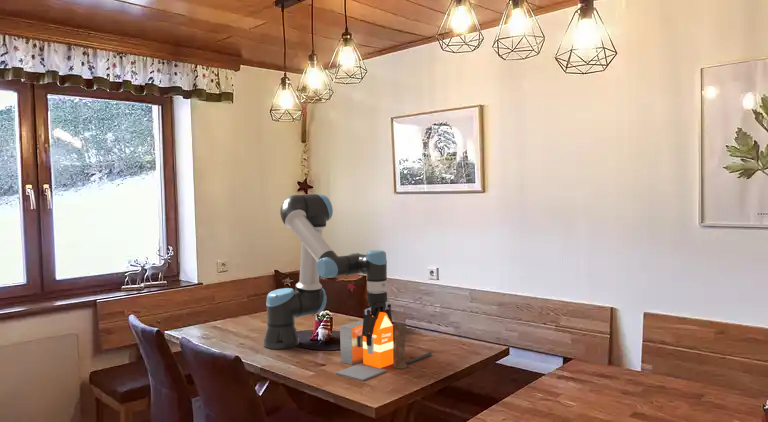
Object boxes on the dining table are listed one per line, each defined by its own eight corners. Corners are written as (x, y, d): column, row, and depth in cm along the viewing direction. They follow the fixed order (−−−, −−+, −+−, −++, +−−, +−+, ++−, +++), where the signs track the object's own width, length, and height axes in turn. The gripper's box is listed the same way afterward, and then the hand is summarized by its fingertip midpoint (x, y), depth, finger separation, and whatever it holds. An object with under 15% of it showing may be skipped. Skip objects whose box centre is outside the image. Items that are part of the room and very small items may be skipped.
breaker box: (340, 361, 222) (340, 325, 221) (377, 348, 239) (376, 315, 238) (353, 365, 218) (353, 328, 217) (390, 351, 235) (389, 317, 234)
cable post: (390, 367, 215) (390, 324, 214) (399, 363, 219) (398, 321, 218) (401, 369, 212) (400, 326, 211) (409, 366, 215) (409, 323, 215)
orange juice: (379, 368, 213) (378, 314, 212) (362, 363, 219) (361, 311, 218) (393, 363, 219) (393, 311, 218) (377, 359, 225) (376, 308, 224)
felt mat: (335, 374, 208) (335, 372, 208) (359, 365, 218) (359, 363, 218) (362, 381, 200) (362, 379, 200) (386, 371, 210) (386, 369, 210)
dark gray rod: (405, 364, 217) (404, 361, 217) (429, 354, 230) (429, 351, 230) (407, 365, 217) (407, 362, 217) (431, 355, 229) (431, 352, 229)
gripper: (366, 297, 208) (367, 359, 209) (401, 288, 224) (402, 346, 225) (351, 294, 212) (352, 356, 213) (386, 286, 228) (387, 343, 229)
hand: (378, 351), depth 219 cm, fingers closed on orange juice, 8 cm apart
